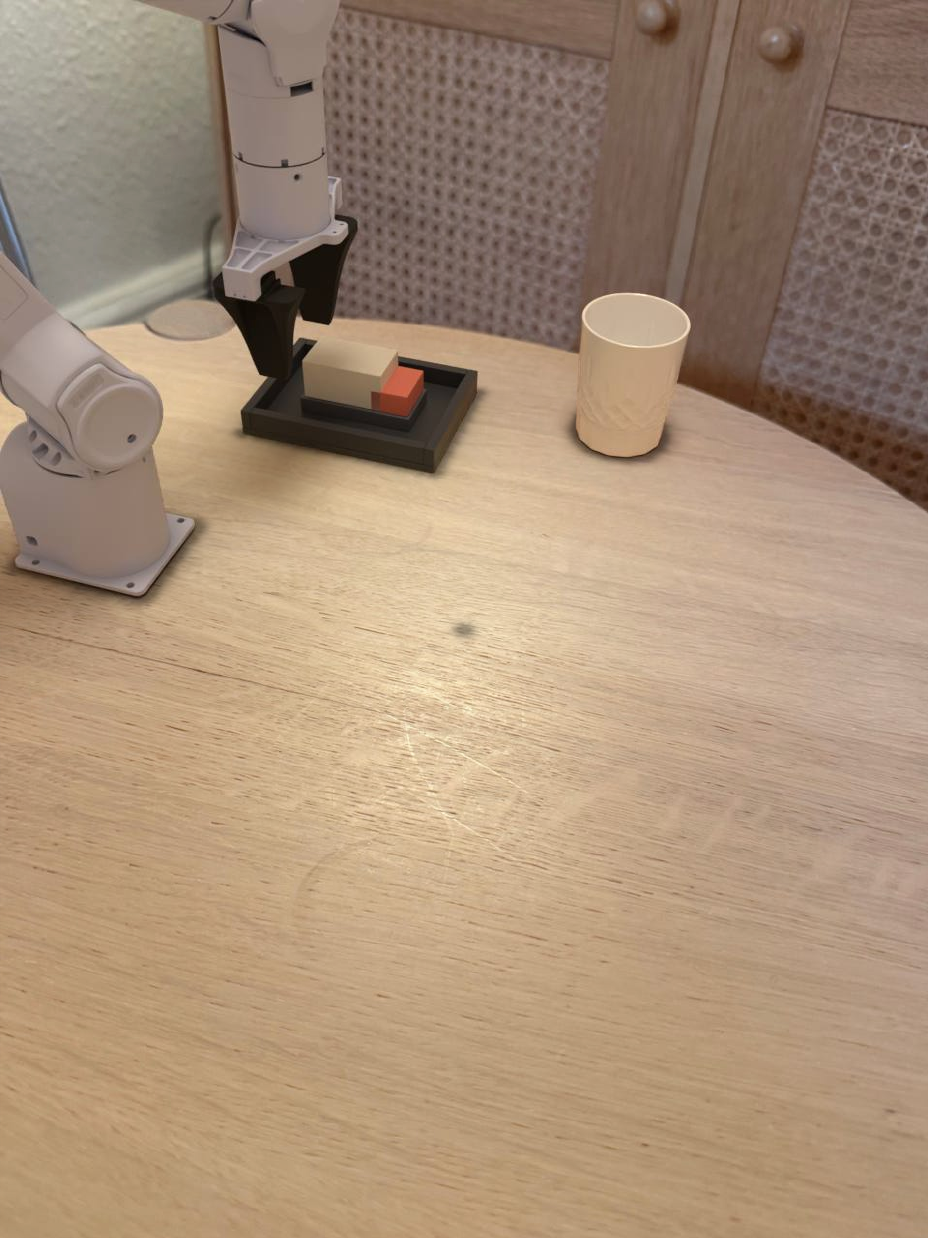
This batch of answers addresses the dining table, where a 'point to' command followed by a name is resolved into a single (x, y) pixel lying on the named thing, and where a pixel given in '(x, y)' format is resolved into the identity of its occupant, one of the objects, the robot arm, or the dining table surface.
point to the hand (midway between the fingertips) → (296, 346)
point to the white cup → (628, 371)
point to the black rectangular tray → (420, 448)
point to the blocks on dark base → (361, 384)
